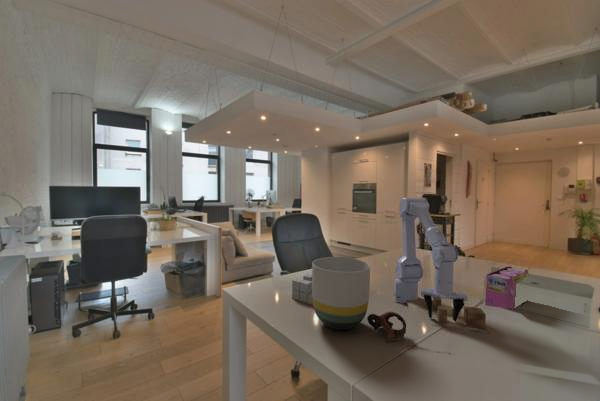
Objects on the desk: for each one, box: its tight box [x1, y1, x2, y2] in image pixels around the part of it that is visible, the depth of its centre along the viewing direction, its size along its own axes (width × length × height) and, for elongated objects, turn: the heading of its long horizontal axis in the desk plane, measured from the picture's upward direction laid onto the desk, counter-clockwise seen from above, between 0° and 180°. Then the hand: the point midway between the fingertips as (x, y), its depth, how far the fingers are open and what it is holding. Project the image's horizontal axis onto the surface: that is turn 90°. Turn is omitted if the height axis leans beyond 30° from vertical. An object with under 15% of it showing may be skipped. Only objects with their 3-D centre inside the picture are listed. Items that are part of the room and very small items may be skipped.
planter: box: [311, 256, 371, 331], centre depth 93 cm, size 20×20×21 cm
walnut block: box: [463, 305, 487, 329], centre depth 92 cm, size 5×5×5 cm
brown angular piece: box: [435, 306, 487, 332], centre depth 94 cm, size 14×8×5 cm, turn 73°
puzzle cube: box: [291, 273, 313, 306], centre depth 118 cm, size 12×12×8 cm
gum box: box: [484, 266, 529, 310], centre depth 115 cm, size 24×8×14 cm, turn 124°
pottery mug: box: [366, 311, 407, 343], centre depth 88 cm, size 12×10×8 cm
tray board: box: [422, 302, 491, 335], centre depth 98 cm, size 17×20×2 cm
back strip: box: [432, 297, 464, 317], centre depth 103 cm, size 14×8×5 cm, turn 73°
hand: (442, 318), depth 95 cm, fingers open, 7 cm apart
